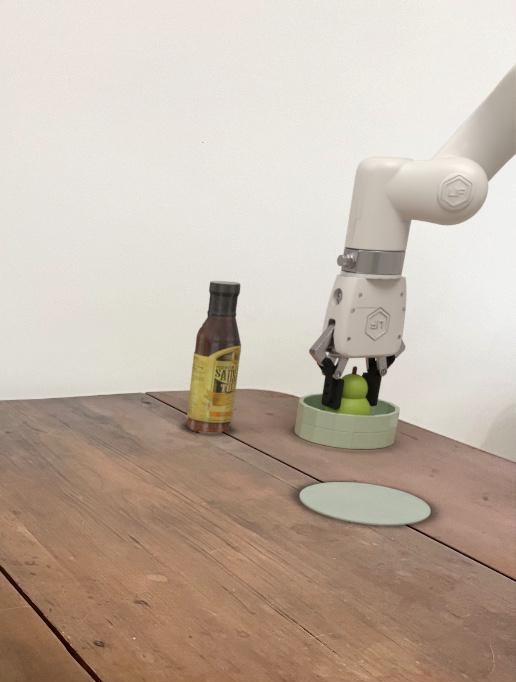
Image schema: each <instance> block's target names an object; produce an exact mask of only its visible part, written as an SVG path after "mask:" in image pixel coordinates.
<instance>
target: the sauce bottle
mask: <svg viewBox="0 0 516 682" xmlns="http://www.w3.org/2000/svg"><path fill="white" fill-rule="evenodd" d="M208 292H209V300H208V301H209V302H208V309H207V313H206V314H207V317H206V319H205V320H204V322H203V323H202V325H201V326H200V327H199V329H198V331H197V334H196V339H195V348H194V352H193V357H192V366H191V367H192V368H191V377H190V386H189V395H188V403H187V412H186V413H187V414H186V417H187V421H186V422H187V423H186V426H187V429H188V430H189V431H190V432H193V433H198V434H200V433H224V432H227V431H229V430H230V428H231V422H232V420H233V414H234V406H235V399H236V391H237V383H238V374H239V367H240V357H241V351H242V343H241V337H240V333H239V332H240V331H239V327H238V323H237V307H238V299H239V296H240V294H241V283H240V282H237V281H229V280H227V281H226V280H211V281H210V282H209V289H208Z"/></svg>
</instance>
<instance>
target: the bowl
mask: <svg viewBox="0 0 516 682" xmlns="http://www.w3.org/2000/svg"><path fill="white" fill-rule="evenodd" d="M322 394H323V392H322V393H310V394H307V395H304V396H301V397H300V398H299V400H298V404H297V410H296V418H295V423H294V431H293V432H294V434H295V435H296V436H298V437H299V438H300V439H302V440H305V441H308V442H310V443H314V444H317V445H322V446H326V447H331V448H336V449H337V448H338V449H339V448H340V449H347V450H375V449H384V448H388V447H390V446H392V445H394V444H395V440H396V439H395V438H396V433H397V428H398V423H399V417H400V413H401V407H400V406H398V405H397V404H395V403H394V402H391V401H387V400H384V399H380V398H378V402H377V405H376V406H370V409H371V415H351V414H342V413H334V412H329V411H325V409H326V406H324V405H322V403H321V402H322Z"/></svg>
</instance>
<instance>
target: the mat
mask: <svg viewBox="0 0 516 682" xmlns="http://www.w3.org/2000/svg"><path fill="white" fill-rule="evenodd" d="M299 501H301V503H302V504H303V505H304V506H305V507H307V509H308V508H309V509H310V510H312V511H314V512H316V513H319V514H321V515H324V516H326V517H330V518H333V519H336V520H341V521H346V522H350V523H356V524H363V525H373V526H406V525H412V524H417V523H421V522H423V521H425V520H427V519H428V518H430V515H431V512H432V510H431V507H430V506H429V504H428V503H427V502H426V501H424V500H423V499H421V498H419V497H417V496H415V495H413V494H410V493H408V492H405V491H403V490H399V489H395V488H392V487H387V486H383V485H377V484H373V483H364V482H354V481H353V482H352V481H332V482H331V481H329V482H320V483H314V484H311V485H308V486H306V487H304V488H303V489H302V490H301V491H300V492H299Z"/></svg>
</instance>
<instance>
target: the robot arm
mask: <svg viewBox="0 0 516 682" xmlns="http://www.w3.org/2000/svg"><path fill="white" fill-rule="evenodd" d="M515 155H516V63H515V64H514V65H513V66H512V67H511V68H510V69H509V71H508V72H507V73H505V75H504V76H503V77H502V79H501V80H500V81H499V82H498V83H497V85H496V86H495V87H494V88H493V90H492V91H491V92H490V93H489V94H488V95H487V97H486V98H485V99H484V100H483V101H482V102H481V103H480V104H479V105H478V106H477V108H475V109H474V111H473V112H472V113H471V114H470V115H469V116H468V117H467V118H466V120H465V121H464V122H462V124H461V125H460V126H459V127H458V129H456V131H455V132H454V133H453V134H452V135H451V136H450V137H449V138H448V140H447V141H446V142H445V143H444V144H443V145H442V146H441V147H440V148H439V150H438V151H437V152H436V153H435V154H434V155H433V156H432V157H431V158H430V159H425V160H423V159H422V160H421V159H420V160H415V159H413V158H411V157H410V158H409V157H401V156H370V157H366V158H363V159H362V160H360V162H359V164H358V165H357V167H356V170H355V175H354V182H353V188H352V195H351V202H350V209H349V215H348V222H347V228H346V235H345V241H344V248H343V253H342V254H340V255H338V257H337V259H336V264H337V266H338V267H340V273H338V274H336V277H335V280H334V282H333V286H332V288H331V292H330V295H329V299H328V302H327V307H326V310H325V315H324V320H323V326H322V332H321V335H320V336H319V337H318V338H317V340H316V341H315V342H314V343H313V344H312V345H311V347H310V348H309V350H308V353H309V355H310V356H311V358H312V359H313V360H314V361H315V362H316V365H317V366H318V368H319V369H320V370H321V375H322V376H324V381H323V388H322V393H323V394H322V393H321V394H322V402H321V403H322V405H324V406H326V407H329V408H332V409H339V408H340V405H341V399H342V393H343V387H344V379H341V378H342V377H343V373H344V371H345V369H346V367H347V364H348V362H349V360H350V359H363V358H364V359H365V369H366V371H365V372H362V375H361V376H362V377H363V378H364V379H365V380H366V382H367V385H368V392H367V395H366V397H365V398H366V399H367V400H368V402H369V404H370V406H376V405H377V402H378V399H379V395H380V390H381V384H382V378H383V377H385V376H386V375H387V374H388V369H390V367H391V366H392V365H393V364H394V363H395V361H396V359H398V357H400V356H401V355H402V353H403V352H404V351H405V350H406V344H405V342H404V340H403V336H404V335H403V334H404V327H405V319H406V312H407V311H406V310H407V309H406V308H407V278H406V277H405V276H402V275H403V274H402V273H403V271H404V264H405V258H406V253H407V252H406V251H407V246H408V240H409V235H410V230H411V225H412V221H418V222H423V223H424V222H425V223H429V224H435V225H440V226H456V225H460V224H462V223H464V222H467V221H468V220H470V219H471V218H473V217H474V216H475V215H476V214H477V213H478V212H479V211H481V209H482V207H483V205H484V204H485V202H486V200H487V197H488V193H489V182H490V181H491V180H492V179H493V178H494V177H495V175H497V174H498V173H499V171H500V170H501V169H502V168H503V167H504V166H505V165H506V164H507V163H508V162H509V161H510V160H511V159H512V158H514V156H515ZM327 353H328V354H327Z"/></svg>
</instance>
